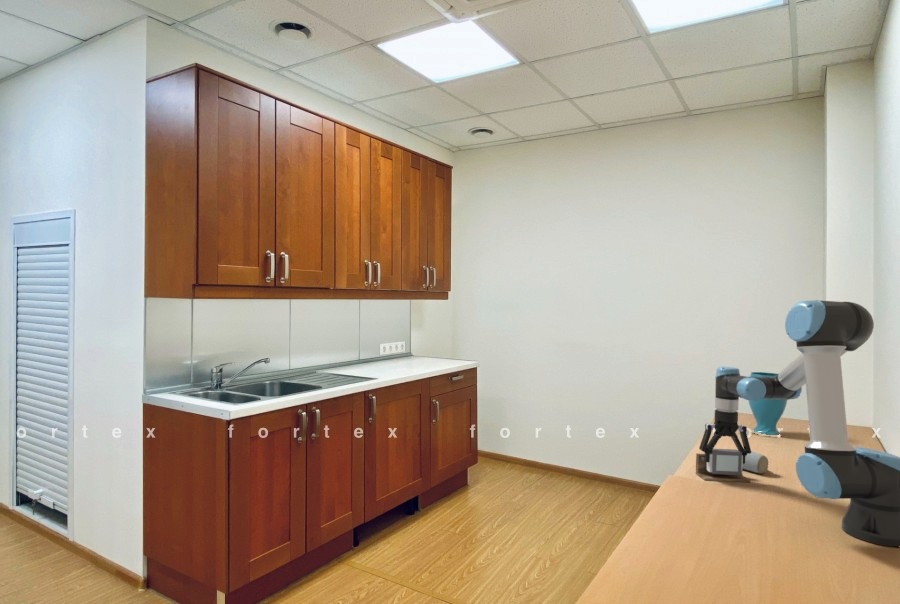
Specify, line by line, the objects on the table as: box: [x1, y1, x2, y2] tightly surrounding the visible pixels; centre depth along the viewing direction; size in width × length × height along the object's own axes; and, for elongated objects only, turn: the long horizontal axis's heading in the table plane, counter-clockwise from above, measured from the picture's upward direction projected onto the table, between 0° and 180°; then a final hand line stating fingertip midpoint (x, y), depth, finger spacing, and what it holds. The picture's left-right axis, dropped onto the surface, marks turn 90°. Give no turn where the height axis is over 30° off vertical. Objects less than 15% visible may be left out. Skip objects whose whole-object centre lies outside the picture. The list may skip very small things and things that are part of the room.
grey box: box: [711, 448, 742, 475], centre depth 194 cm, size 4×10×8 cm, turn 88°
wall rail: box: [695, 452, 751, 483], centre depth 196 cm, size 8×16×8 cm, turn 88°
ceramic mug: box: [743, 450, 769, 475], centre depth 206 cm, size 11×8×8 cm
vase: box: [748, 371, 788, 435], centre depth 270 cm, size 17×17×30 cm
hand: (724, 471), depth 194 cm, fingers closed on grey box, 10 cm apart
